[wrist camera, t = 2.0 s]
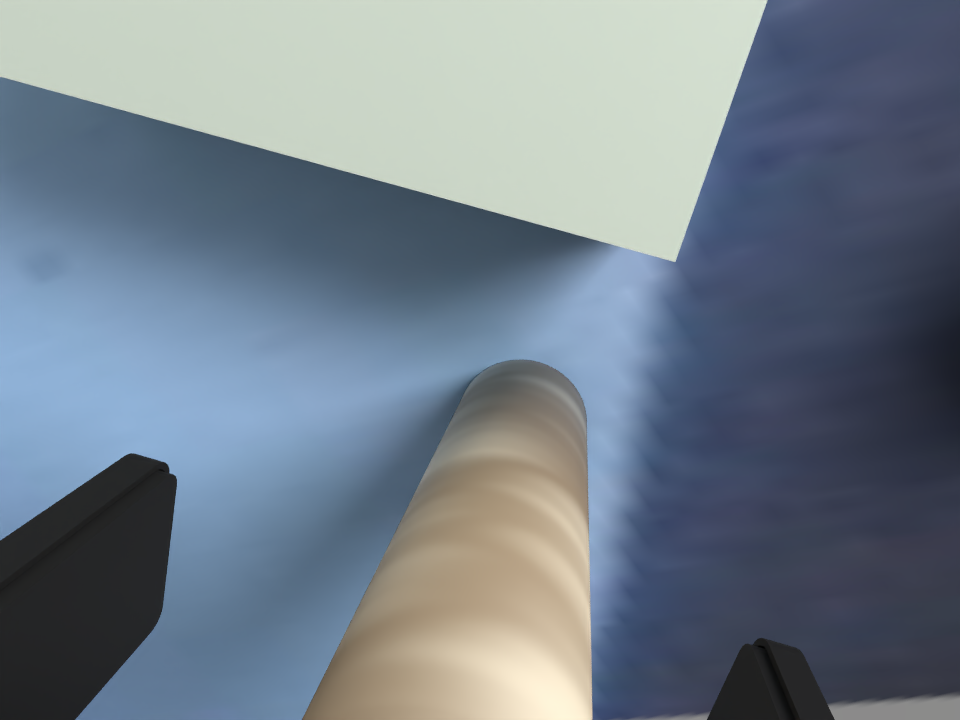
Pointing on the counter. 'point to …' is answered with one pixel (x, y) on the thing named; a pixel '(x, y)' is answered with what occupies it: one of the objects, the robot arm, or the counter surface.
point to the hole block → (428, 92)
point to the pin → (482, 571)
